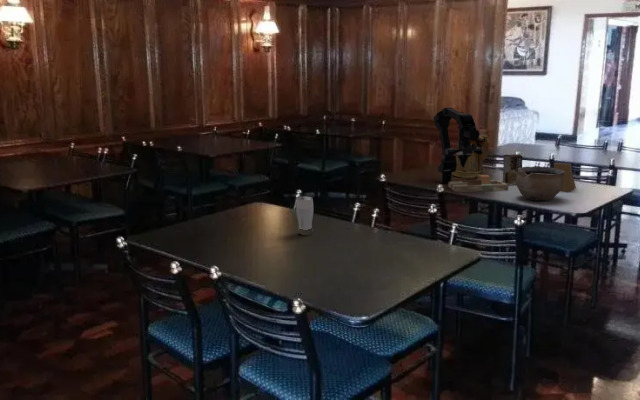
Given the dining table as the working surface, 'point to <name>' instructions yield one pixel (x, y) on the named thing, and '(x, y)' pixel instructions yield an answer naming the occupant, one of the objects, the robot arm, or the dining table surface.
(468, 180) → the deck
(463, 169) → the tankard
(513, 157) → the coffee box
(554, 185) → the ceramic bowl
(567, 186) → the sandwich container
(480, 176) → the block
